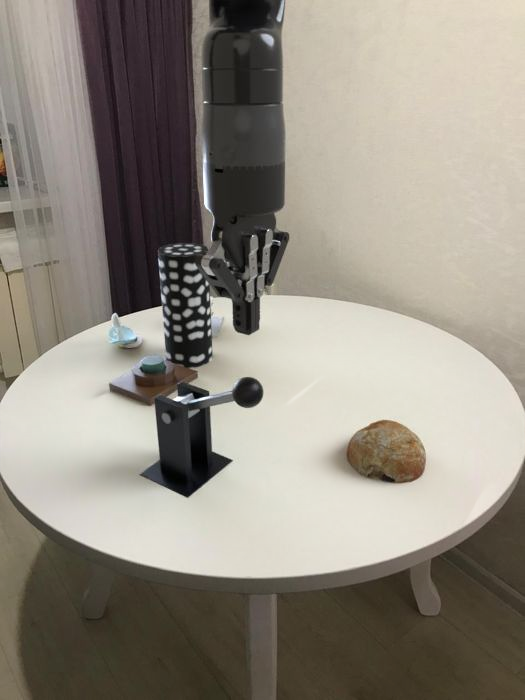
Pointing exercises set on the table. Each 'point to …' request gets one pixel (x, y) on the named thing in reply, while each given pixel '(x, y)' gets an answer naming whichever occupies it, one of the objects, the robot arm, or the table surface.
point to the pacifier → (122, 334)
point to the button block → (152, 382)
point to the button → (152, 364)
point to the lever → (227, 396)
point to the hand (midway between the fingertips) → (246, 331)
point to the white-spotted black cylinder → (185, 305)
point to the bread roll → (387, 452)
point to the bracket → (184, 445)
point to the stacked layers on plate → (215, 321)
